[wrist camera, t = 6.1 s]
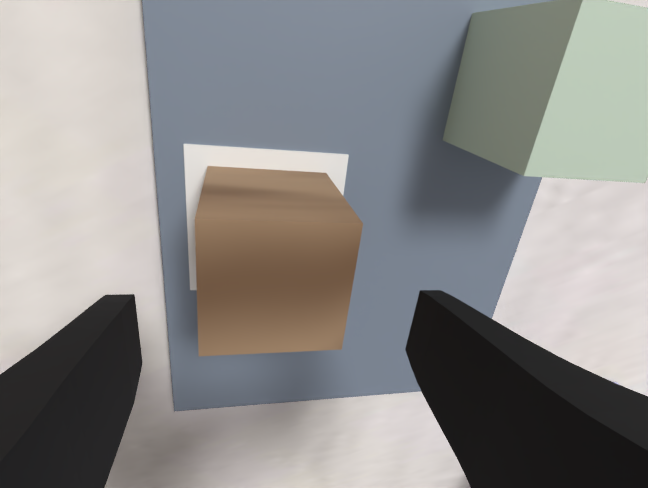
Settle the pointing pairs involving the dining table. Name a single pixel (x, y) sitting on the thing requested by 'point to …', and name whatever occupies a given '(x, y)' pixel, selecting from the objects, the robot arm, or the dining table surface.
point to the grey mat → (328, 172)
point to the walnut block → (273, 261)
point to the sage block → (556, 90)
